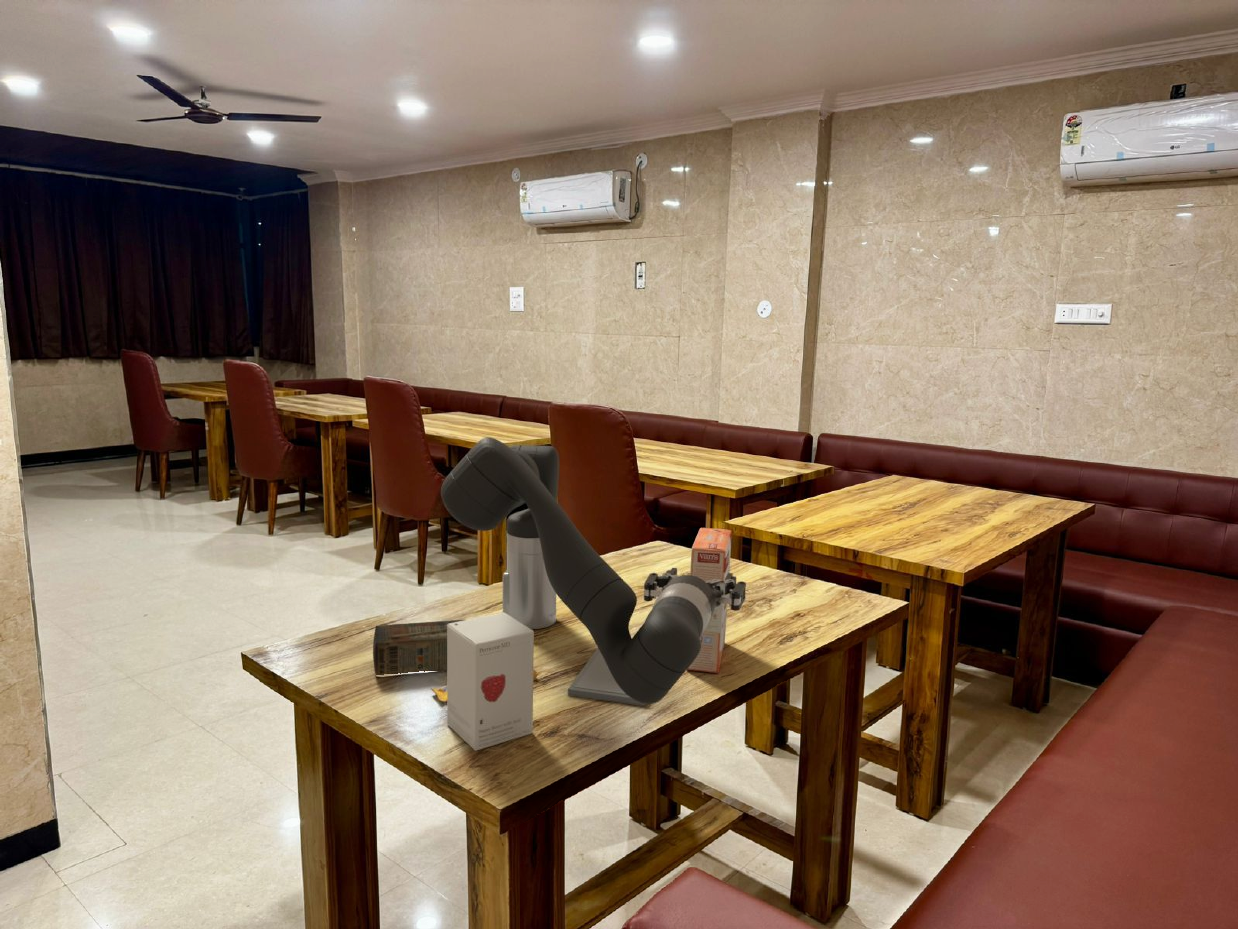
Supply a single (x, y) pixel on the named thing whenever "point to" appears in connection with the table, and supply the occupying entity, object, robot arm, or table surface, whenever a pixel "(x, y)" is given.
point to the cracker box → (714, 564)
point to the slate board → (599, 683)
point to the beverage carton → (410, 647)
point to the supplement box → (490, 679)
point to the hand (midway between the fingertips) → (702, 576)
